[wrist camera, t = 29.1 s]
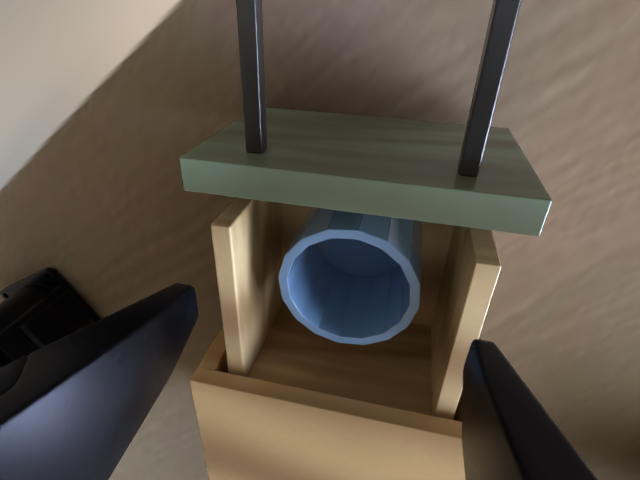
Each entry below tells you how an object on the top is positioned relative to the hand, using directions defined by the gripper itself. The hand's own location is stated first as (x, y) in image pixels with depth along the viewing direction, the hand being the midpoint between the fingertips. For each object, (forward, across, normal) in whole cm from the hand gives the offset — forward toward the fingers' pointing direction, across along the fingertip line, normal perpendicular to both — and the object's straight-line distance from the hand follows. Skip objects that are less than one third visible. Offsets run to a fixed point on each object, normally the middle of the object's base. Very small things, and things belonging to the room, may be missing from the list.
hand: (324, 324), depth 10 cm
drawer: (+12, 0, +1) cm, 12 cm away
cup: (+11, 0, +4) cm, 11 cm away
